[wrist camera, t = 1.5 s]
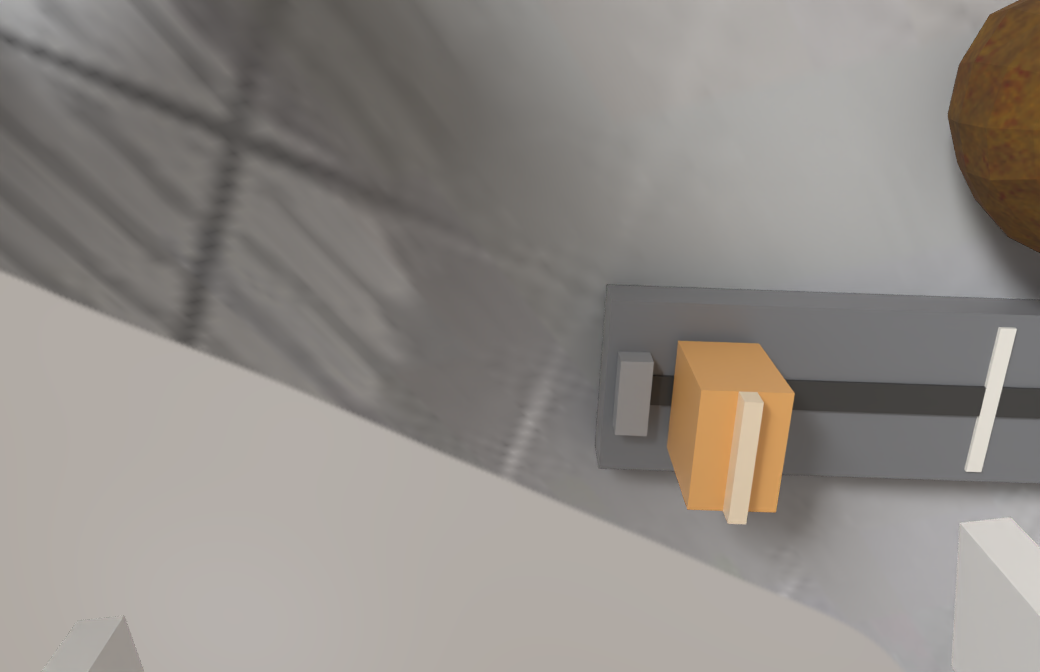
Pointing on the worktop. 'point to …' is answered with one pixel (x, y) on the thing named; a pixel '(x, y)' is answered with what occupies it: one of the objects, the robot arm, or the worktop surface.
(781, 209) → the worktop surface
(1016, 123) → the potato
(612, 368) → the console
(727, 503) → the slider
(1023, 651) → the robot arm
